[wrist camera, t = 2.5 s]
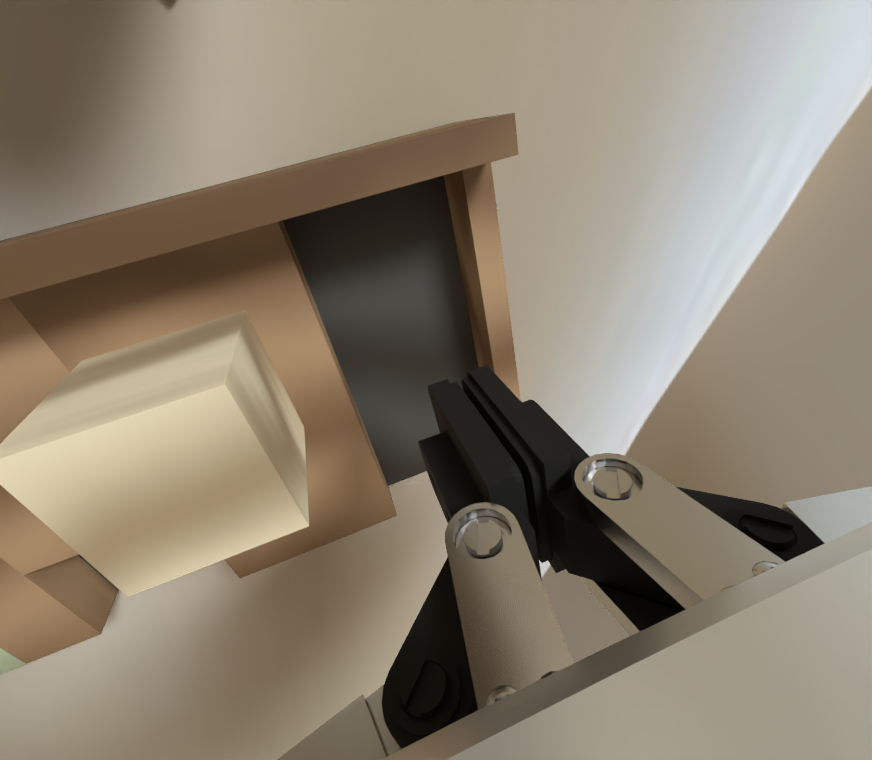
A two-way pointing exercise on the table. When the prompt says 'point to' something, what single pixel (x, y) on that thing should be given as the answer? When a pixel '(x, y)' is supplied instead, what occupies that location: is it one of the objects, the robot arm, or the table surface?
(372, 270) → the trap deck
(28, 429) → the birch block
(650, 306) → the table surface
